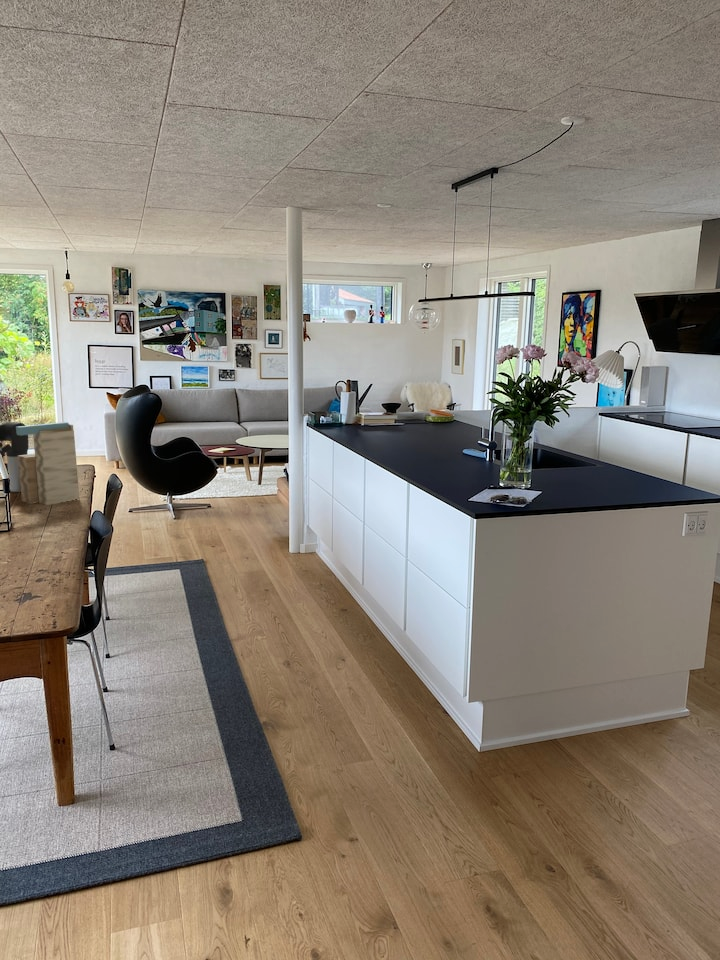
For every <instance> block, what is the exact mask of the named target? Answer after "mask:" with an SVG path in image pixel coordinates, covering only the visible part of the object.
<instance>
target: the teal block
mask: <svg viewBox="0 0 720 960" xmlns="http://www.w3.org/2000/svg"><path fill="white" fill-rule="evenodd" d="M62 428H69V422H68V421H67V422H66V421H62V422H51V423H41V424H33V425H32V424H31V425H25V426H18V427H16V433H17V435H28V436H29V435H33V434H39V431H43V430H53V429H62Z"/></svg>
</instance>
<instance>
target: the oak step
mask: <svg viewBox="0 0 720 960" xmlns="http://www.w3.org/2000/svg"><path fill="white" fill-rule="evenodd" d="M18 464H19V474H20V485H21V495H20V496H21V501H22V502H25V503H27V504H30V505H31V504H35V503H39V494H38V483H37V472H36V461H35V453H27V455H19V456H18Z"/></svg>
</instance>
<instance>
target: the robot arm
mask: <svg viewBox="0 0 720 960" xmlns="http://www.w3.org/2000/svg"><path fill="white" fill-rule="evenodd" d="M18 426H26V425H25V423H23V422H19V421H18V422H17V421H16V422H15V421H8V422H4V423H1V424H0V454H1V455H2V458H4V457H5V456H6V465H7V473H9V475H8V480H9V479H10V485H9V490H10V489H11V491H10V492H11V493H14V492H15V493H19V492H21V485H20V474H19V464H18V456H19V455H27V454H28V451H29V448H30V446H29V435H17V433H16V427H18ZM4 441H5V442H11V444H10V443H6V444H5V445H4V446H3V444H2V442H4Z"/></svg>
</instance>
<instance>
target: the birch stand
mask: <svg viewBox="0 0 720 960" xmlns="http://www.w3.org/2000/svg"><path fill="white" fill-rule="evenodd" d="M68 424H69V423H68ZM32 436H33V437H32V438H33V445H34V446H33V448H34V454H35V461H36V472H37V483H38V494H39V502H38V503H40V504H43V505H45V506H51V505H57V504H62V503H61V502H63V503H67V502H66V501H69V502H71V501H70V500H74V499H79V500H80V490H79V479H78V477H79V476H78V467H77V466H78V465H77V454H76V453H77V452H76V439H75V430H74V424H69V428H62V429H53V430H43V431H39V434H32ZM74 501H75V500H74Z"/></svg>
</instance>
